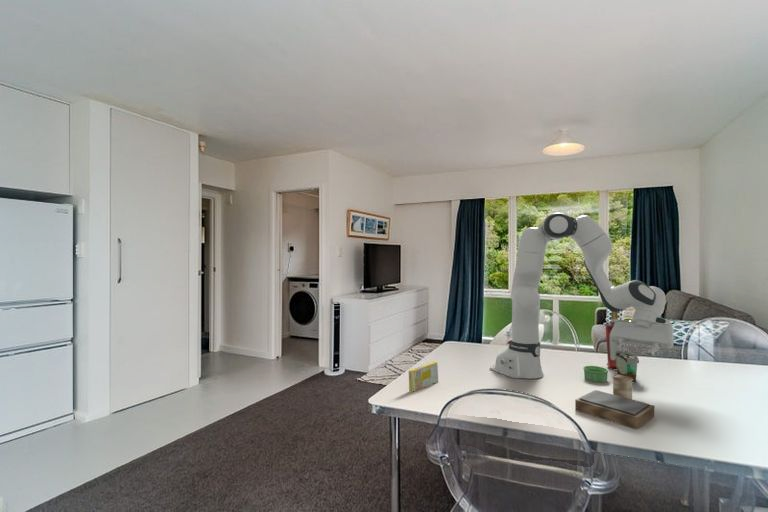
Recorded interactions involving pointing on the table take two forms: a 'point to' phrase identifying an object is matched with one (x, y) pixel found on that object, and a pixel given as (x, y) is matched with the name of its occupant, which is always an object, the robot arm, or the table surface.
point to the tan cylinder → (622, 386)
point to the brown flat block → (615, 408)
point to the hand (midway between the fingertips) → (635, 352)
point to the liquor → (612, 343)
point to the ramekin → (595, 373)
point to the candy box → (423, 376)
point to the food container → (626, 364)
